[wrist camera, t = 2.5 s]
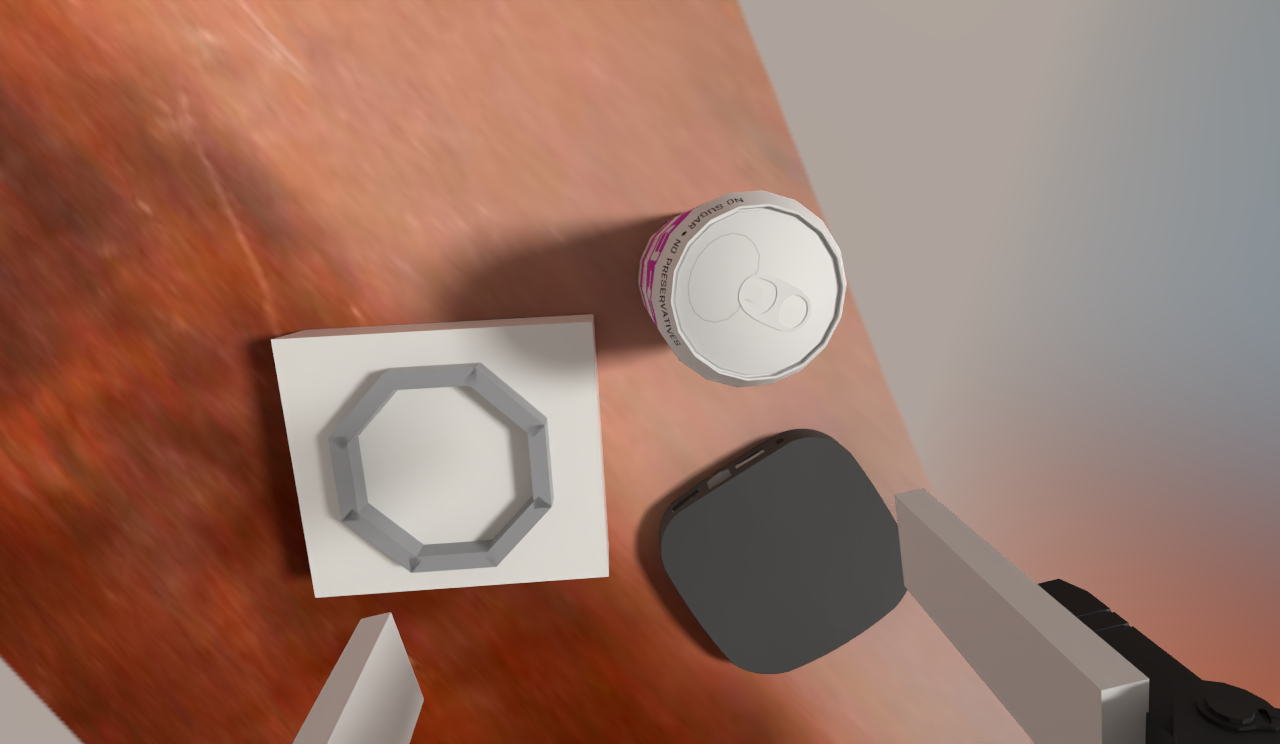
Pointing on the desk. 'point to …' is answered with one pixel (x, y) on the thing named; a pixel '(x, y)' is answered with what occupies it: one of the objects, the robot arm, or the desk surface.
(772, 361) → the supplement can
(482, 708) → the desk surface
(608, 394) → the desk surface
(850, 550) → the media streaming box
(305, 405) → the mount base
